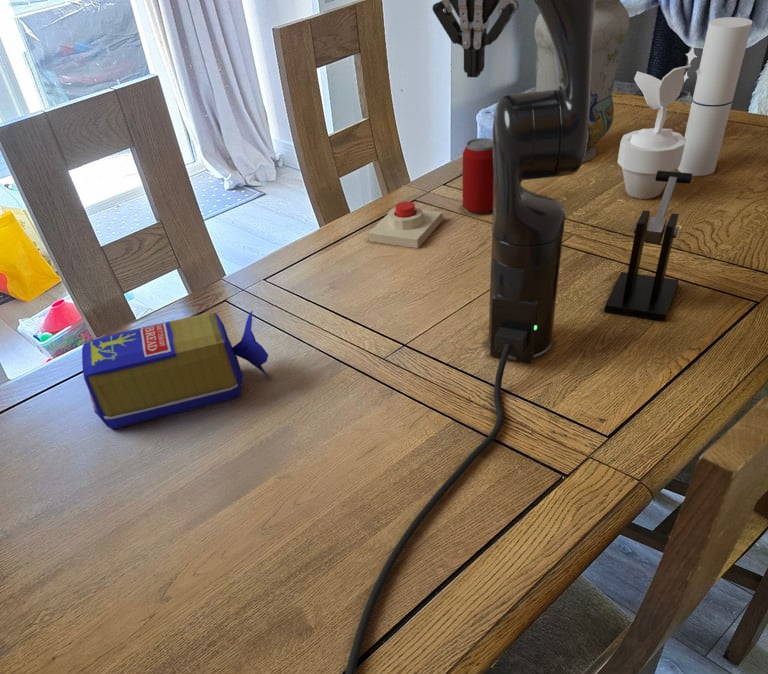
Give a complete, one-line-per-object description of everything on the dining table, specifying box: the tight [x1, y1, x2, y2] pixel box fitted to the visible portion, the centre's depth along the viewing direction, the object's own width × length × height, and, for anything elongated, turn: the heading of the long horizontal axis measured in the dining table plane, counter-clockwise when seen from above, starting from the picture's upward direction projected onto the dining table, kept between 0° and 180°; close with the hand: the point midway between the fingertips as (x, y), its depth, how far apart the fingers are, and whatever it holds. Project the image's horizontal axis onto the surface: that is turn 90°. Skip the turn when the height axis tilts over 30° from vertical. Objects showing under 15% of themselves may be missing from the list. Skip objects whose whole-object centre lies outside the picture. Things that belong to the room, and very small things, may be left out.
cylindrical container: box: [677, 16, 753, 177], centre depth 133 cm, size 7×7×25 cm
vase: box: [533, 0, 630, 164], centre depth 141 cm, size 18×18×30 cm
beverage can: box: [462, 137, 493, 215], centre depth 132 cm, size 7×7×12 cm
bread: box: [81, 310, 270, 430], centre depth 97 cm, size 10×25×10 cm, turn 108°
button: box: [394, 201, 416, 218], centre depth 130 cm, size 4×4×2 cm
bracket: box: [603, 209, 680, 322], centre depth 105 cm, size 11×9×13 cm
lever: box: [644, 171, 693, 246], centre depth 103 cm, size 13×5×2 cm, turn 154°
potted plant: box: [617, 43, 702, 200], centre depth 127 cm, size 13×12×25 cm
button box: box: [368, 205, 444, 249], centre depth 131 cm, size 12×10×4 cm
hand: (474, 75), depth 107 cm, fingers closed
